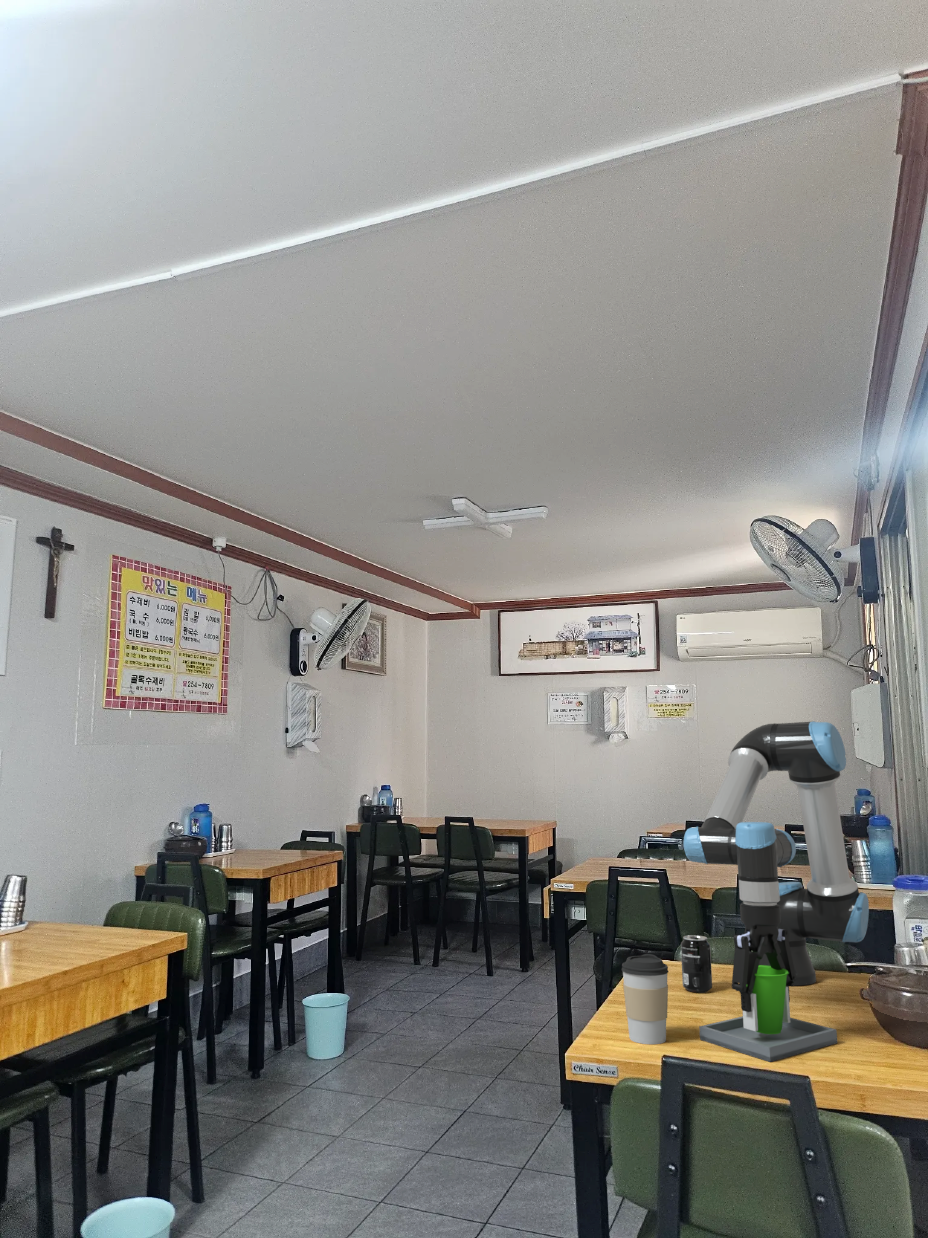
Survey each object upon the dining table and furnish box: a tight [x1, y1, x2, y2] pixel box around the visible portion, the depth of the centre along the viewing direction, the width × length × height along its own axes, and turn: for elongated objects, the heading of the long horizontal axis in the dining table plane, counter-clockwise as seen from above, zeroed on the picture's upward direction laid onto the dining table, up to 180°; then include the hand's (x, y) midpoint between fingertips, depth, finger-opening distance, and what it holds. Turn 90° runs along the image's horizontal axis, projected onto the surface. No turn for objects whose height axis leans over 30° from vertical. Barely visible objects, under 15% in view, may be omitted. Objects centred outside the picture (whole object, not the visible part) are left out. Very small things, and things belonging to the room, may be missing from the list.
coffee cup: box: [621, 953, 670, 1045], centre depth 166 cm, size 9×9×15 cm
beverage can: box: [680, 934, 713, 994], centre depth 204 cm, size 7×7×12 cm
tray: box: [698, 1015, 838, 1063], centre depth 164 cm, size 20×16×2 cm
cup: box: [752, 965, 789, 1034], centre depth 165 cm, size 9×9×11 cm
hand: (767, 1025), depth 164 cm, fingers closed on cup, 9 cm apart
